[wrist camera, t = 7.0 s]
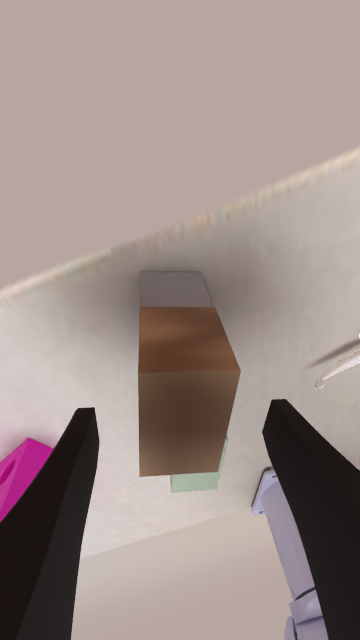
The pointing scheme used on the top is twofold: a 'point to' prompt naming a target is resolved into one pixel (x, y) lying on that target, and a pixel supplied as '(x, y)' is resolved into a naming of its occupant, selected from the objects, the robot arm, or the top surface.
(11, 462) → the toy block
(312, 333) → the top surface
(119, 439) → the top surface
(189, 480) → the sage brick
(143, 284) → the slate brick
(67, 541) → the robot arm
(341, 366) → the toy figurine
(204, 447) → the walnut brick
